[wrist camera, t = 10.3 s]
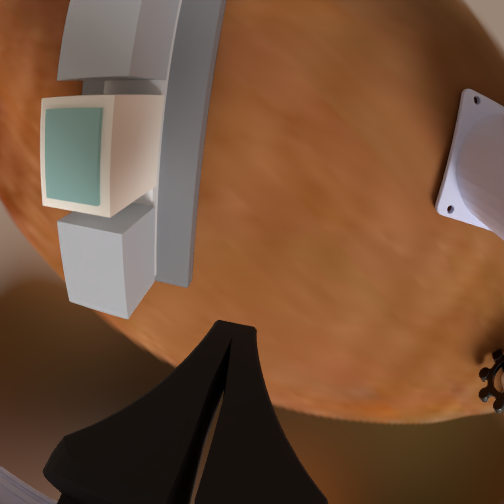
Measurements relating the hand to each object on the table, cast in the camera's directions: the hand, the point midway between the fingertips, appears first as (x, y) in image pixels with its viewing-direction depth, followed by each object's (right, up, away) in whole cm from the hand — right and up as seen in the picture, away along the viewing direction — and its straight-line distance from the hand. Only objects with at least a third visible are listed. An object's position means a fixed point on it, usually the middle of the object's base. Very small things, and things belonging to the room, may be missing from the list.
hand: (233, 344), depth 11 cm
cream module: (-6, +9, +5) cm, 12 cm away
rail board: (-6, +11, +6) cm, 14 cm away
